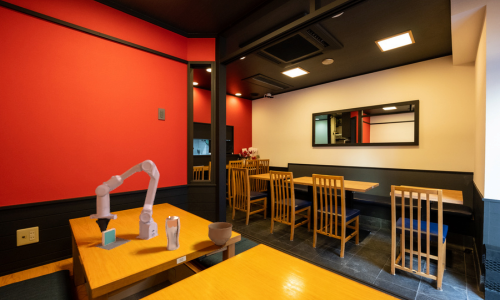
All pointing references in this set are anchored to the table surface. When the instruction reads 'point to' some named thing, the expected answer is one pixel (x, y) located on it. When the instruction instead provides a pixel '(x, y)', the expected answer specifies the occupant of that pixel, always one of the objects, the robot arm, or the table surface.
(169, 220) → the beer glass
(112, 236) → the block
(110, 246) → the mat
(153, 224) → the robot arm
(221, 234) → the bowl
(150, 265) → the table surface
